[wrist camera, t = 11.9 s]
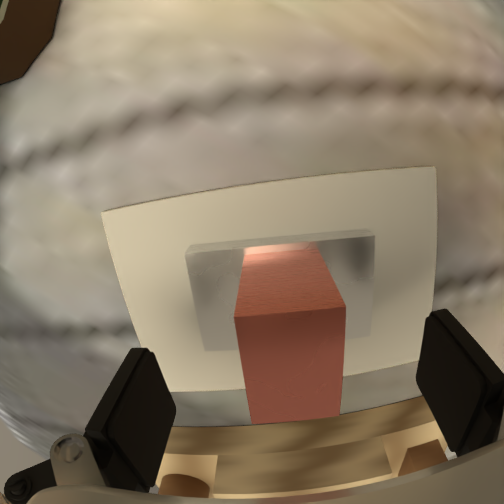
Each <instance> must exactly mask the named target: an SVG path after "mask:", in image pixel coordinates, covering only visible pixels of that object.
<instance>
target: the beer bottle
mask: <svg viewBox="0 0 504 504" xmlns="http://www.w3.org/2000/svg"><path fill="white" fill-rule="evenodd" d="M59 3H60V0H0V84H2V83H5V82H8V81H11V80H14V79H17V78H20V77H22V76H23V75H24V73H25V72H26V70H27V69H28V68H29V66H30V65H31V64H32V62H33V61H34V59H35V58H36V57H37V56H38V54H39V53H40V52H41V50H42V49H43V48H44V47H45V45H46V44H47V43H48V42H49V40H50V39H51V38H52V34H53V29H54V24H55V20H56V15H57V11H58V7H59Z"/></svg>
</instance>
